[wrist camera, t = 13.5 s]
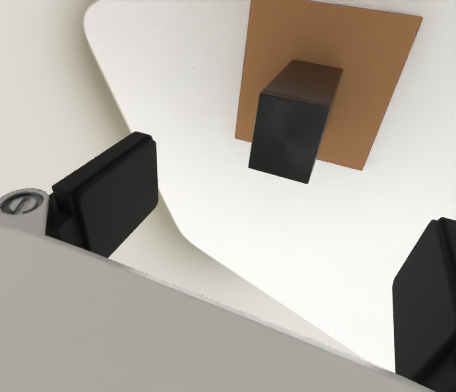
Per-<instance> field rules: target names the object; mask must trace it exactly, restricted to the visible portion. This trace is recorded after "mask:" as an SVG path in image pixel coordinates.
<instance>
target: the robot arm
mask: <svg viewBox="0 0 456 392" xmlns="http://www.w3.org/2000/svg"><path fill="white" fill-rule="evenodd" d="M52 189H53V193H52V194H50V195H48V194H47V193H46V192H45V191H42V190H40V189H34V188H27V189H21V190H16V191H13V192H10V193H8V194H6V195H4V196H2V197H1V198H0V392H456V221H455V220H451V219H448V218H444V217H441V218H440V219H438V221H437V220H431V221H430V223H429V224H428V226H427V227H426V229H425V231H424V232H423V234H422V235H421V237H420V238H419V240H418V242H417V243H416V245H415V246H414V248H413V250H412V251H411V253H410V254H409V256H408V258H407V259H406V261H405V262H404V264H403V266H402V267H401V269H400V270H399V272H398V274H397V275H396V277H395V279H394V281H393V286H392V294H393V321H394V348H395V373H393V372H391V371H388V370H386V369H384V368H381V367H379V366H376V365H374V364H372V363H369V362H367V361H364V360H362V359H360V358H357V357H354V356H352V355H350V354H348V353H345V352H343V351H340V350H338V349H335V348H333V347H330V346H328V345H326V344H323V343H321V342H318V341H316V340H313V339H311V338H308V337H306V336H303V335H300V334H298V333H295V332H293V331H291V330H288V329H286V328H283V327H281V326H278V325H276V324H273V323H271V322H268V321H266V320H263V319H260V318H258V317H256V316H253V315H251V314H248V313H246V312H243V311H241V310H238V309H235V308H233V307H230V306H228V305H225V304H223V303H220V302H218V301H215V300H213V299H210V298H208V297H205V296H203V295H200V294H197V293H195V292H193V291H190V290H187V289H185V288H182V287H180V286H177V285H175V284H172V283H170V282H167V281H165V280H162V279H159V278H157V277H154V276H152V275H149V274H147V273H144V272H141V271H139V270H136V269H134V268H131V267H129V266H126V265H124V264H121V263H118V262H116V261H113V260H111V259H108V257H109V256H110V255H111V254H112V253H113V252H114V251H115V250H116V249H117V248H118V247H119V246H120V245H121V244H122V243H123V242H124V240H125V239H126V238H127V237H128V236H129V235H130V234H131V233H132V232H133V231H134V230H135V229H136V228H137V227H138V226H139V224H140V223H141V222H142V221H143V220H144V219H145V218H146V217H147V216H148V215H149V214H150V213H151V212H152V211H153V210H154V208H155V207H156V206H157V203H158V177H157V153H156V142H155V141H154V140H153V139H152V136H150V135H148V134H144V133H141V132H136V131H135V132H133V133H132V134H130V135H129V136H127V137H126V138H124V139H123V140H121V141H119V142H118V143H116V144H115V145H113V146H112V147H110V148H109V149H107V150H106V151H104V152H103V153H101V154H100V155H99V156H97V157H95V158H94V159H92V160H91V161H89V162H88V163H86V164H85V165H83V166H82V167H80V168H79V169H77V170H76V171H74V172H73V173H71V174H70V175H68V176H67V177H65V178H64V179H62V180H61V181H59V182H58V183H56V184H54V185H53V186H52Z"/></svg>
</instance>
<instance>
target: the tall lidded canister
mask: <svg viewBox="0 0 456 392" xmlns="http://www.w3.org/2000/svg"><path fill="white" fill-rule="evenodd" d="M342 73H343V69H341V68H336V67H331V66H325V65H320V64H315V63H309V62H304V61H299V60H292V61H291V62H290V63H289V64H288V65H287V66H286V67H285V68H284V69H283V70H282V71H281V72H280V73H279V74H278V75H277V76H276V77H275V78H274V79H273V80H272V81H271V82H270V83H269V84H268V85H267V86H266V87H265V88H264V89H263V90H262V91H261V92H260V94H259V99H258V106H257V113H256V119H255V126H254V132H253V139H252V145H251V152H250V158H249V165H248V168H251V169H255V170H258V171H262V172H265V173H269V174H273V175H276V176H280V177H284V178H287V179H291V180H294V181H298V182H302V183H305V184H308V183H309V179H310V176H311V173H312V170H313V167H314V164H315V161H316V158H317V155H318V152H319V149H320V146H321V142H322V139H323V136H324V133H325V130H326V127H327V123H328V120H329V117H330V113H331V110H332V106H333V103H334V100H335V96H336V93H337V89H338V86H339V83H340V79H341V76H342Z"/></svg>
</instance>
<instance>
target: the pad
mask: <svg viewBox="0 0 456 392" xmlns="http://www.w3.org/2000/svg"><path fill="white" fill-rule="evenodd" d="M422 19H423V18H422V17H419V16H412V15H405V14H398V13H391V12H384V11H377V10H370V9H363V8H356V7H349V6H342V5H335V4H328V3H321V2H314V1H307V0H251V5H250V14H249V22H248V31H247V39H246V48H245V56H244V64H243V73H242V81H241V90H240V98H239V107H238V115H237V124H236V132H235V138H236V139H240V140H244V141H248V142H252V139H253V132H254V126H255V119H256V113H257V106H258V99H259V94H260V92H261V91H262V90H263V89H264V88H265V87H266V86H267V85H268V84H269V83H270V82H271V81H272V80H273V79H274V78H275V77H276V76H277V75H278V74H279V73H280V72H281V71H282V70H283V69H284V68H285V67H286V66H287V65H288V64H289V63H290V62H291V61H292V60H299V61H304V62H309V63H315V64H320V65H325V66H331V67H336V68H341V69H343V73H342V76H341V79H340V83H339V86H338V89H337V93H336V96H335V100H334V103H333V106H332V110H331V113H330V117H329V120H328V123H327V127H326V130H325V133H324V136H323V139H322V142H321V146H320V149H319V152H318V155H317V158H316V159H318V160H322V161H326V162H330V163H334V164H337V165H341V166H345V167H349V168H353V169H357V170H361V171H362V170H363V167H364V165H365V162H366V160H367V157H368V155H369V152H370V150H371V147H372V145H373V142H374V140H375V137H376V135H377V132H378V130H379V127H380V125H381V122H382V120H383V117H384V115H385V112H386V110H387V107H388V105H389V102H390V100H391V97H392V95H393V92H394V90H395V87H396V85H397V82H398V80H399V77H400V75H401V72H402V70H403V67H404V65H405V62H406V60H407V57H408V55H409V52H410V50H411V47H412V44H413V42H414V39H415V37H416V34H417V32H418V29H419V27H420V24H421V22H422Z"/></svg>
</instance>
